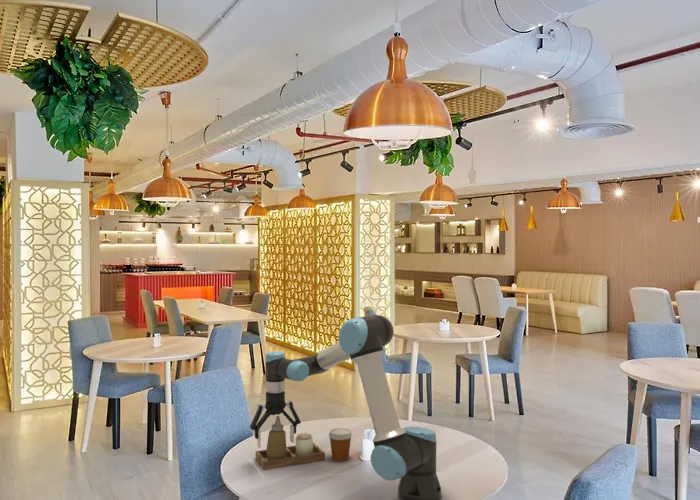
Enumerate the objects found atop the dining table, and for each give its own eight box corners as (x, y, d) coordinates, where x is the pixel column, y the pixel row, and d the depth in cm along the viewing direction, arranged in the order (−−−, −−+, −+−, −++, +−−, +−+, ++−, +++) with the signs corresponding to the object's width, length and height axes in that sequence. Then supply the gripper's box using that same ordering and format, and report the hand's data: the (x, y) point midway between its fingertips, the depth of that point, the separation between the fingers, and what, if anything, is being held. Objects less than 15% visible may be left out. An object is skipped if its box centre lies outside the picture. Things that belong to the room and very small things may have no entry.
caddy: (324, 462, 238) (324, 452, 238) (263, 472, 228) (263, 462, 228) (313, 452, 250) (313, 442, 250) (255, 461, 240) (255, 451, 240)
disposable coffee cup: (349, 466, 234) (349, 435, 234) (326, 464, 236) (326, 434, 236) (354, 457, 244) (354, 428, 244) (331, 455, 246) (331, 427, 245)
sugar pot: (315, 458, 239) (315, 437, 239) (298, 461, 237) (298, 439, 237) (309, 453, 246) (309, 432, 246) (293, 455, 243) (293, 434, 243)
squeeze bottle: (263, 458, 239) (265, 414, 238) (282, 456, 242) (284, 412, 242) (269, 466, 231) (271, 420, 231) (288, 463, 235) (291, 418, 234)
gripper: (302, 385, 245) (302, 437, 245) (242, 392, 235) (242, 445, 235) (308, 389, 238) (308, 442, 238) (246, 396, 228) (246, 451, 228)
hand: (275, 444), depth 236 cm, fingers open, 13 cm apart
